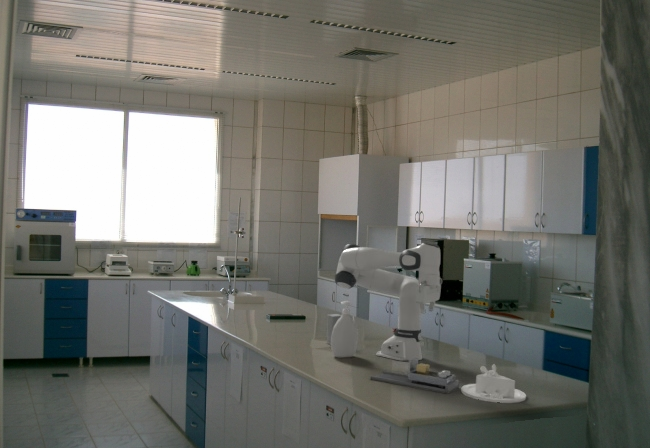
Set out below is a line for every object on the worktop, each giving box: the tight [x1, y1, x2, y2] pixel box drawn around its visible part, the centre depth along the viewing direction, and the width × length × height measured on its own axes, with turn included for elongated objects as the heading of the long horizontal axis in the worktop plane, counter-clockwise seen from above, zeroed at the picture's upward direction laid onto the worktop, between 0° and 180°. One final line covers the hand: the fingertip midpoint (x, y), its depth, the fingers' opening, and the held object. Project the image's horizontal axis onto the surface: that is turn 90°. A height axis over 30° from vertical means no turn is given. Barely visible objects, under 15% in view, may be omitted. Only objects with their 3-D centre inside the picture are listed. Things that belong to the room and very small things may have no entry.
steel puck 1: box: [437, 371, 447, 379], centre depth 262 cm, size 3×3×3 cm
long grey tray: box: [407, 358, 456, 389], centre depth 267 cm, size 17×10×9 cm, turn 59°
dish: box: [460, 363, 527, 404], centre depth 260 cm, size 25×25×11 cm
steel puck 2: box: [441, 369, 451, 378], centre depth 266 cm, size 3×3×3 cm
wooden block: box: [416, 363, 431, 376], centre depth 269 cm, size 4×4×4 cm
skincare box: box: [326, 313, 342, 346], centre depth 347 cm, size 8×7×16 cm
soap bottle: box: [330, 300, 359, 359], centre depth 318 cm, size 14×8×27 cm, turn 117°
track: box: [370, 370, 460, 395], centre depth 271 cm, size 34×12×3 cm, turn 59°
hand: (427, 312), depth 284 cm, fingers open, 8 cm apart
